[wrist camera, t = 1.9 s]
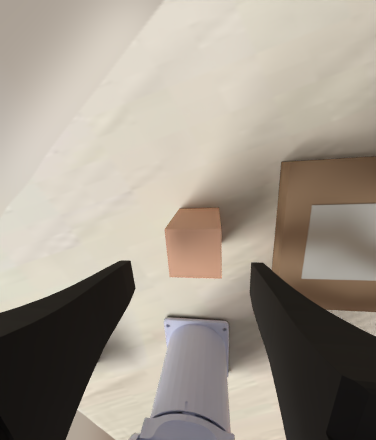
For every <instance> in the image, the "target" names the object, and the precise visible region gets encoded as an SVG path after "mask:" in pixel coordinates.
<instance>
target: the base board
mask: <svg viewBox="0 0 376 440" xmlns="http://www.w3.org/2000/svg"><path fill="white" fill-rule="evenodd" d="M272 271H273V272H274V273H276V274H277V275H278V276H279V277H280V278H281V279H283V280H284V281H285V282H286V283H288V284H289V285H290V286H292V287H293V288H294V289H295V290H297V291H298V292H300V293H301V294H302V295H304V296H305V297H307V298H308V299H310V300H311V301H313V302H314V303H316V304H317V305H319V306H320V307H322V308H324V309H325V310H345V311H365V312H376V156H372V157H356V158H339V159H323V160H306V161H290V162H281V173H280V184H279V196H278V207H277V218H276V229H275V241H274V252H273V263H272Z"/></svg>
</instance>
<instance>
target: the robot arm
mask: <svg viewBox="0 0 376 440" xmlns="http://www.w3.org/2000/svg"><path fill="white" fill-rule="evenodd" d="M134 291H135V283H134V278H133V272H132V267H131V261H119V262H117V263H115V264H113V265H111V266H109V267H107V268H105V269H103V270H101V271H100V272H98V273H96V274H94V275H92V276H90V277H88V278H86V279H84V280H82V281H80V282H78V283H76V284H75V285H73V286H71V287H68V288H66V289H64V290H62V291H60V292H57V293H55V294H52V295H50V296H48V297H45V298H43V299H40V300H37V301H34V302H32V303H29V304H26V305H23V306H21V307H18V308H15V309H11V310H8V311H5V312H2V313H0V440H66V437H67V434H68V432H69V429H70V426H71V424H72V421H73V419H74V416H75V414H76V411H77V409H78V406H79V404H80V401H81V399H82V396H83V394H84V391H85V389H86V387H87V384H88V382H89V380H90V378H91V375H92V373H93V371H94V368H95V366H96V364H97V362H98V360H99V358H100V355H101V353H102V351H103V349H104V347H105V345H106V343H107V341H108V340H109V338H110V336H111V334H112V333H113V331H114V329H115V328H116V326H117V324H118V322H119V321H120V319H121V317H122V316H123V314H124V312H125V310H126V309H127V307H128V305H129V303H130V301H131V298H132V296H133V293H134ZM250 297H251V302H252V307H253V311H254V314H255V318H256V321H257V324H258V327H259V330H260V333H261V336H262V339H263V342H264V345H265V349H266V352H267V355H268V359H269V362H270V366H271V370H272V375H273V379H274V384H275V388H276V392H277V397H278V402H279V406H280V411H281V415H282V420H283V425H284V430H285V435H286V440H376V336H373V335H371V334H369V333H367V332H365V331H363V330H361V329H359V328H357V327H356V326H354V325H352V324H350V323H348V322H346V321H344V320H343V319H341V318H339V317H337V316H335V315H334V314H332V313H330V312H329V311H327V310H325V309H324V308H322V307H320V306H319V305H317V304H316V303H314V302H313V301H311V300H310V299H308V298H307V297H305V296H304V295H302V294H301V293H300V292H298V291H297V290H295V289H294V288H293V287H292V286H290V285H289V284H288V283H286V282H285V281H284V280H283V279H281V278H280V277H279V276H278V275H277V274H276V273H274V272H273V271H272V270H271V269H270V268H269V267H267V266H266V265H265V264H264V263H251V279H250ZM168 324H169V325H168ZM164 327H165V335H166V343H167V351H166V355H165V359H164V363H163V367H162V372H161V376H160V380H159V384H158V388H157V392H156V396H155V400H154V404H153V408H152V412H151V416H150V418H145V419H144V422H143V426H142V430H141V433H140V434H139V433H134V434H133V435H132V436H131V437H130V438H129V440H235V436H234V434H232V433H231V430H230V414H229V398H228V382H227V377H228V355H229V324H228V322H227V321H219V320H203V319H187V318H170V317H167V318H165V319H164ZM224 328H225V329H224Z"/></svg>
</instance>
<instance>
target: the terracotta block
mask: <svg viewBox="0 0 376 440" xmlns="http://www.w3.org/2000/svg"><path fill="white" fill-rule="evenodd" d="M165 237H166V246H167V256H168V265H169V274H170V277H186V278H222V257H221V222H220V213H219V208H186V209H179V210H178V211H177V213H176V214H175V216H174V217H173V218H172V220H171V221H170V223H169V224H168V225H167V227H166V228H165Z"/></svg>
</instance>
